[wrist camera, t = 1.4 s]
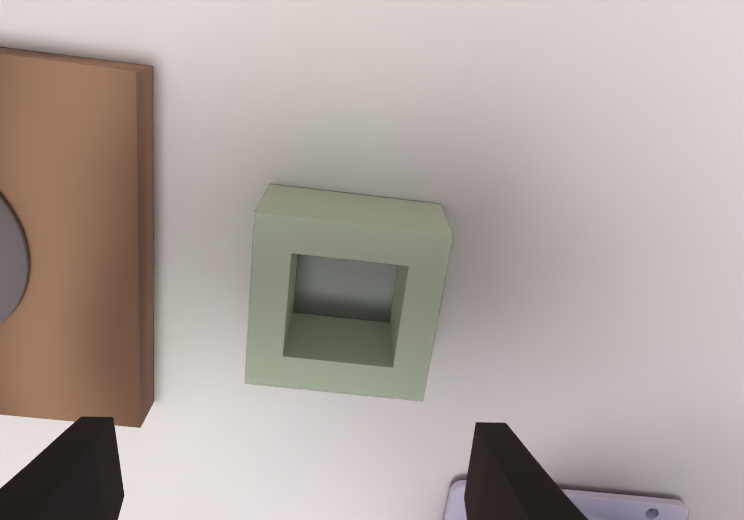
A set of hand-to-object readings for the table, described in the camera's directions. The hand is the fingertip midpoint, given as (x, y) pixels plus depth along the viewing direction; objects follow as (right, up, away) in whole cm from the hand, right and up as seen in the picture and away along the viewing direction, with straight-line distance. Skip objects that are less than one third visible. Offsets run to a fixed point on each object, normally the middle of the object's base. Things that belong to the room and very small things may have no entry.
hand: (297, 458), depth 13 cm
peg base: (-11, +5, +8) cm, 15 cm away
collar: (+1, +4, +9) cm, 10 cm away
